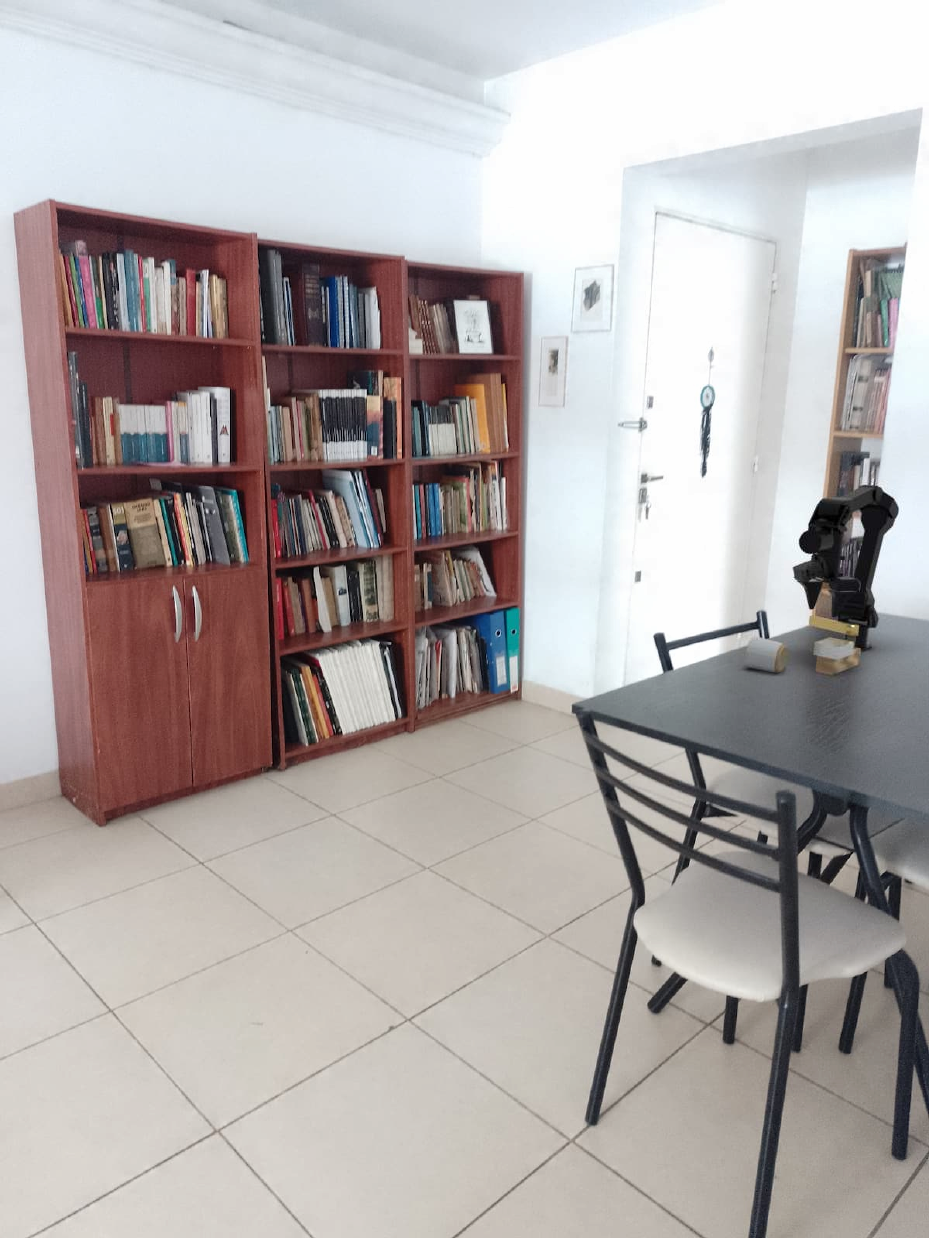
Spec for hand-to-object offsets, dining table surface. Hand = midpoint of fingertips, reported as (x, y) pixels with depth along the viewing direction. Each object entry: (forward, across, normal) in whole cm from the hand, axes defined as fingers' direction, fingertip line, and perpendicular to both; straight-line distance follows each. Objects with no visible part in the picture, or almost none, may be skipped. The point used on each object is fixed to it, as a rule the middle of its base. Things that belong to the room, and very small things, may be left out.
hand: (822, 613), depth 227 cm
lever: (+5, 0, +4) cm, 6 cm away
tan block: (+12, +7, 0) cm, 14 cm away
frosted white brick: (+8, +9, -3) cm, 12 cm away
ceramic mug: (+12, +5, -17) cm, 22 cm away
